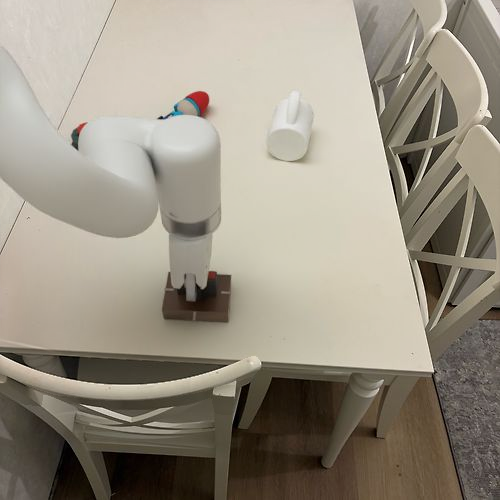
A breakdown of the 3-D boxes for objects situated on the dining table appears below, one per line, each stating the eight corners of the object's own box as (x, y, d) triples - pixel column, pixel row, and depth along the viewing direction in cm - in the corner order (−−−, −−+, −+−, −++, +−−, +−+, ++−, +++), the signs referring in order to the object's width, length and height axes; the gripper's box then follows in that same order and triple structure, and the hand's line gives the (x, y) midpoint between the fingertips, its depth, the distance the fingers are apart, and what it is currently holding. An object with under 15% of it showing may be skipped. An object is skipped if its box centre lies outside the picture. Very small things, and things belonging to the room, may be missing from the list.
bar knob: (177, 294, 74) (174, 277, 71) (178, 285, 75) (176, 268, 72) (216, 296, 74) (216, 279, 71) (217, 288, 75) (216, 270, 72)
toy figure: (172, 150, 101) (220, 109, 106) (165, 133, 97) (216, 91, 102) (148, 136, 105) (197, 97, 110) (141, 118, 101) (192, 79, 106)
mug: (264, 158, 99) (269, 108, 89) (273, 126, 105) (278, 77, 96) (304, 164, 98) (313, 115, 89) (310, 132, 104) (319, 83, 95)
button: (95, 141, 94) (93, 134, 93) (77, 140, 94) (75, 133, 93) (100, 130, 96) (98, 122, 95) (82, 128, 96) (80, 121, 95)
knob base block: (161, 328, 74) (159, 318, 72) (170, 273, 80) (169, 262, 78) (228, 331, 74) (228, 321, 72) (232, 277, 80) (232, 266, 78)
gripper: (169, 165, 65) (179, 249, 80) (150, 259, 55) (165, 335, 70) (225, 168, 65) (225, 251, 80) (216, 262, 55) (217, 338, 70)
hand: (197, 290), depth 75 cm, fingers closed on bar knob
